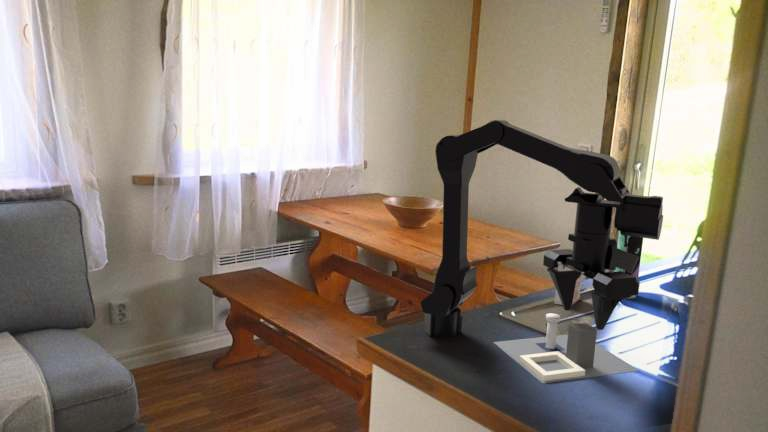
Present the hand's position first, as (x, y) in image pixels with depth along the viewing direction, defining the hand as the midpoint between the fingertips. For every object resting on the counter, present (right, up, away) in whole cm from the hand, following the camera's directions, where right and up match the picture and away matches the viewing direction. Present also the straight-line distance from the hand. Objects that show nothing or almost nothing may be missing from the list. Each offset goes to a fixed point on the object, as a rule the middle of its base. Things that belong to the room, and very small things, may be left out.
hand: (583, 319), depth 104 cm
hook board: (-2, -9, +5) cm, 11 cm away
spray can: (+25, -2, +45) cm, 52 cm away
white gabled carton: (+9, -3, +39) cm, 40 cm away
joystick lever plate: (-4, -8, 0) cm, 9 cm away
